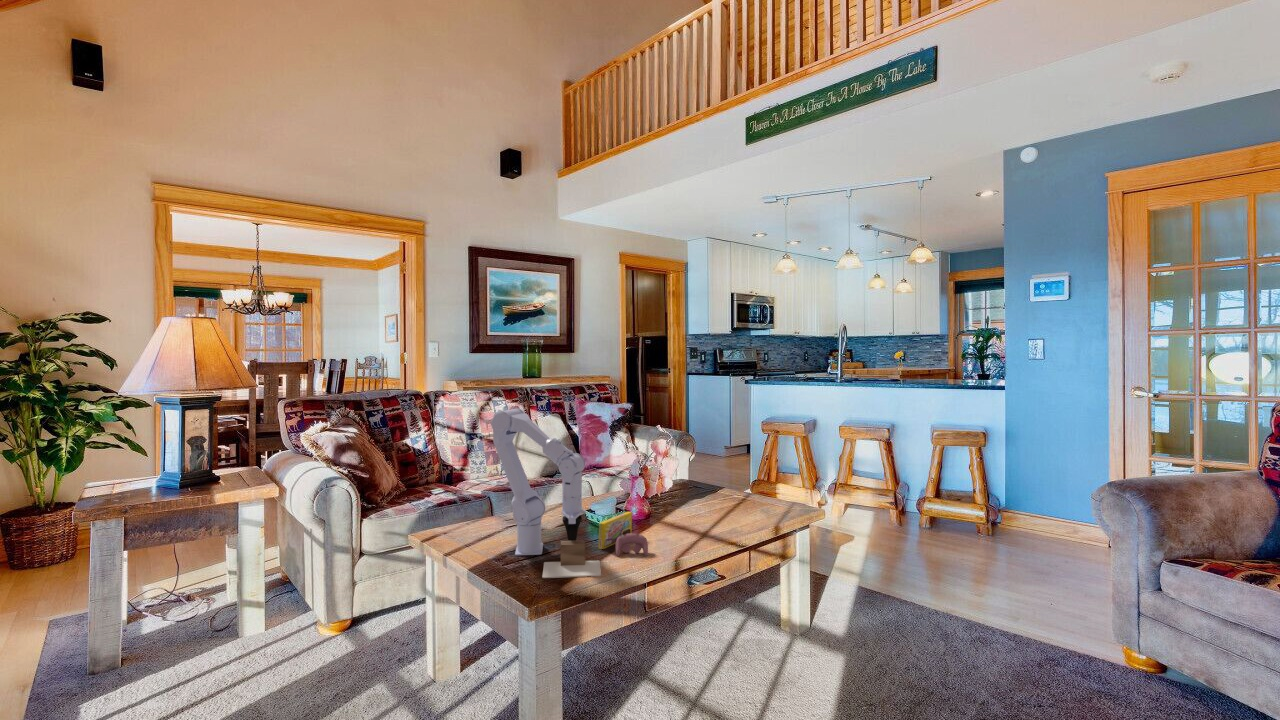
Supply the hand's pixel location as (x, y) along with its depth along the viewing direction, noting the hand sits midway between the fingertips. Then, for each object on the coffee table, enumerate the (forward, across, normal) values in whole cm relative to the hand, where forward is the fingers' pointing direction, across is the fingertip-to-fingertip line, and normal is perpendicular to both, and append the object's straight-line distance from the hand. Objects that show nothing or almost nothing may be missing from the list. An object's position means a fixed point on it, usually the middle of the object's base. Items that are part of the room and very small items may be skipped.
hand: (572, 541), depth 182 cm
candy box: (+5, +13, -14) cm, 20 cm away
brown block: (+5, -6, 0) cm, 7 cm away
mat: (+5, -10, 0) cm, 11 cm away
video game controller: (+5, +2, -18) cm, 19 cm away
